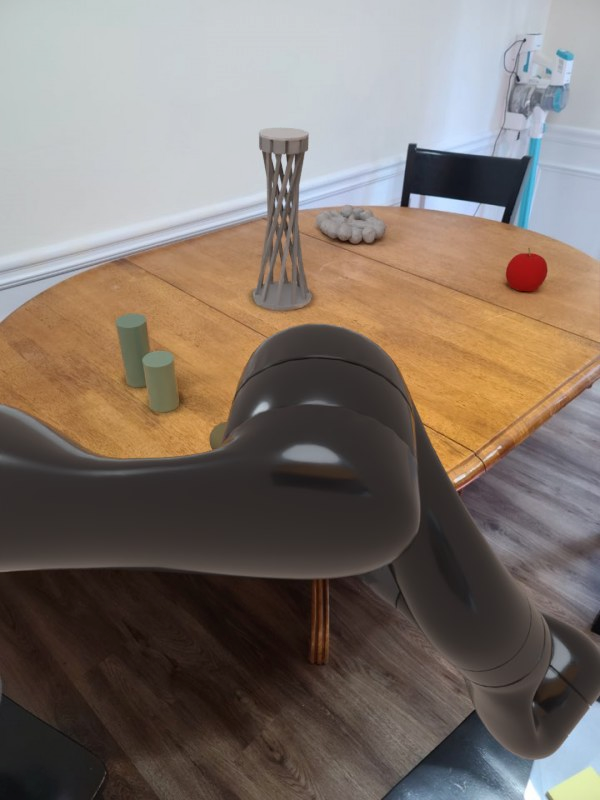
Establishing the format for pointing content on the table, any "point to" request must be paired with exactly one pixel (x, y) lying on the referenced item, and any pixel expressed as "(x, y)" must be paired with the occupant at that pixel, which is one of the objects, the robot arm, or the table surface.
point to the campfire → (351, 224)
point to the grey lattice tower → (282, 220)
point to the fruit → (526, 271)
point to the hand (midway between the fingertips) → (284, 460)
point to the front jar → (161, 381)
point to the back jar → (133, 346)
